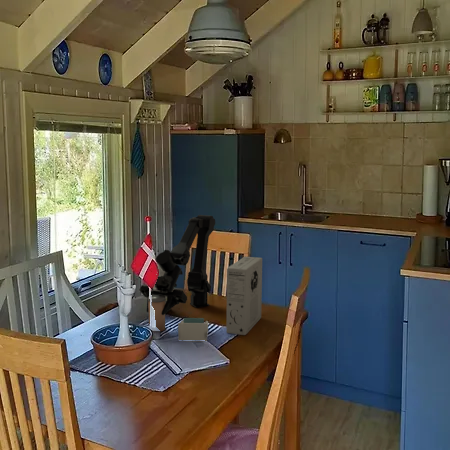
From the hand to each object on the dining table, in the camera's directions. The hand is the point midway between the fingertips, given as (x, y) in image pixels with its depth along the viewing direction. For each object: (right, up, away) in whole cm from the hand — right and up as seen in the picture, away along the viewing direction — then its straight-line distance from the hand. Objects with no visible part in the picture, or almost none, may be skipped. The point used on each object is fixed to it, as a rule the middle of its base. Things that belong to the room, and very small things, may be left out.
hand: (154, 313), depth 207 cm
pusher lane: (+15, -7, -4) cm, 17 cm away
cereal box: (+34, -6, +8) cm, 35 cm away
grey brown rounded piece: (+1, -6, +2) cm, 7 cm away
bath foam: (0, -3, +26) cm, 26 cm away
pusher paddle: (+15, -6, -5) cm, 17 cm away
